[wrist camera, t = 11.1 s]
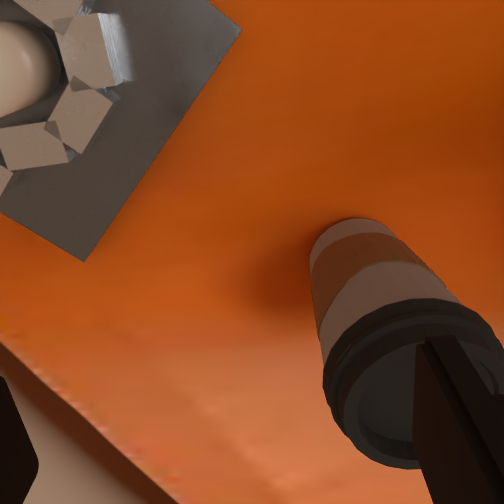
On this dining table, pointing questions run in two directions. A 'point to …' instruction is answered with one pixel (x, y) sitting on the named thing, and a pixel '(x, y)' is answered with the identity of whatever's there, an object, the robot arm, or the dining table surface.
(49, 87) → the knob
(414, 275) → the coffee cup
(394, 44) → the dining table surface
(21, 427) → the robot arm
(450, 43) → the dining table surface
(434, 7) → the dining table surface
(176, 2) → the hub plate
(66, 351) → the dining table surface
